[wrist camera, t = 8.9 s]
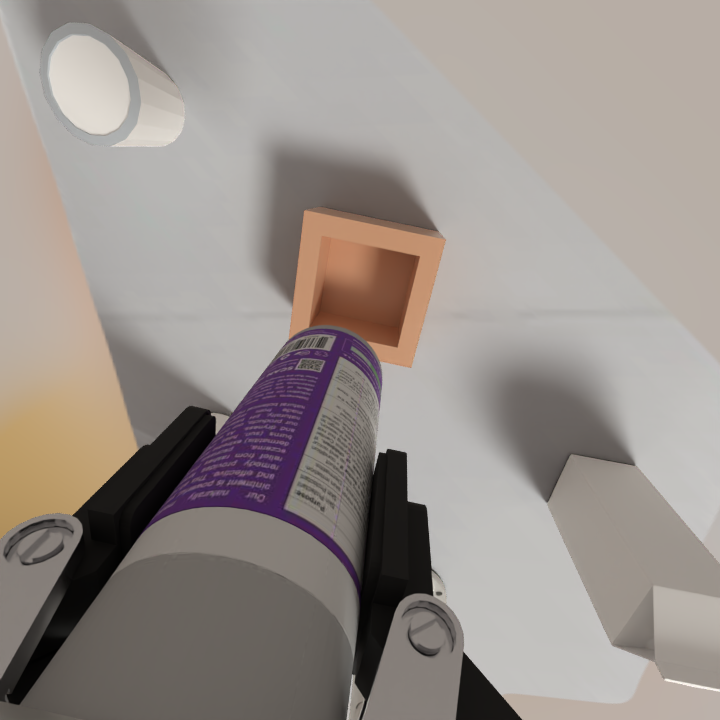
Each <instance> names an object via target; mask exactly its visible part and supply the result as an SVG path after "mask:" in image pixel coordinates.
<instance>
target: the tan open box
mask: <svg viewBox="0 0 720 720" xmlns="http://www.w3.org/2000/svg"><path fill="white" fill-rule="evenodd" d="M445 241H446V239H445V238H444V237H443V236H442V235H441V233H440V232H439V231H434V230H429V229H425V228H420V227H415V226H410V225H406V224H401V223H396V222H391V221H386V220H382V219H377V218H372V217H367V216H362V215H358V214H353V213H348V212H343V211H339V210H334V209H329V208H324V207H316V208H312V209H307V210H304V217H303V225H302V234H301V242H300V250H299V259H298V267H297V275H296V283H295V292H294V300H293V308H292V317H291V325H290V333H289V339H290V338H291V337H292V336H294V335H295V334H297V333H298V332H300V331H302V330H304V329H306V328H309V327H313V326H319V325H333V326H338V327H342V328H345V329H348V330H350V331H352V332H354V333H356V334H358V335H359V336H360V337H362V338H363V339H364V340H365V341H366V342H367V343H368V344H369V345H370V346H371V347H372V349H373V350H374V351H375V353H376V355H377V357H378V359H379V361H381V362H386V363H390V364H395V365H400V366H404V367H409V368H411V367H412V363H413V359H414V356H415V352H416V348H417V344H418V341H419V337H420V333H421V330H422V326H423V322H424V319H425V315H426V311H427V308H428V304H429V300H430V297H431V293H432V289H433V285H434V282H435V278H436V274H437V271H438V267H439V263H440V260H441V256H442V252H443V249H444V245H445Z"/></svg>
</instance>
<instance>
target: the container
mask: <svg viewBox="0 0 720 720" xmlns="http://www.w3.org/2000/svg"><path fill="white" fill-rule="evenodd" d="M381 390H382V369H381V365H380V362H379V359H378V357H377V355H376V353H375V351H374V350H373V349H372V347H371V346H370V345H369V344H368V343H367V342H366V341H365V340H364V339H363V338H362V337H360V336H359V335H358V334H356V333H354V332H352V331H350V330H348V329H345V328H342V327H338V326H333V325H319V326H313V327H309V328H306V329H304V330H302V331H300V332H298V333H297V334H295V335H294V336H292V337H291V338H290V339H289V340H288V341H287V342H286V344H285V345H284V346H283V347H282V348H281V350H280V351H279V352H278V354H277V355H276V356H275V358H274V359H273V360H272V362H271V363H270V364H269V366H268V367H267V368H266V370H265V371H264V372H263V373H262V375H261V376H260V377H259V379H258V380H257V381H256V383H255V384H254V385H253V387H252V388H251V389H250V391H249V392H248V393H247V395H246V396H245V397H244V399H243V400H242V401H241V403H240V404H239V405H238V406H237V408H236V409H235V410H234V412H233V413H232V414H231V416H230V417H229V418H228V420H227V421H226V422H225V424H224V425H223V426H222V428H221V429H220V430H219V432H218V433H217V434H216V436H215V437H214V438H213V439H212V441H211V442H210V443H209V445H208V446H207V447H206V449H205V450H204V451H203V453H202V454H201V455H200V457H199V458H198V459H197V461H196V462H195V463H194V465H193V466H192V467H191V469H190V470H189V471H188V472H187V474H186V475H185V476H184V478H183V479H182V480H181V482H180V483H179V484H178V486H177V487H176V488H175V490H174V491H173V492H172V494H171V495H170V496H169V498H168V499H167V500H166V501H165V503H164V504H163V505H162V507H161V508H160V509H159V511H158V512H157V513H156V515H155V516H154V517H153V519H152V520H151V521H150V523H149V524H148V525H147V527H146V528H145V529H144V531H143V532H142V533H141V535H140V536H139V537H138V539H137V540H136V542H135V544H134V545H133V546H132V548H131V549H130V551H129V552H128V553H127V555H126V556H125V558H124V559H123V560H122V562H121V563H120V565H119V566H118V568H117V569H116V570H115V572H114V573H113V575H112V576H111V577H110V579H109V580H108V582H107V583H106V585H105V586H104V587H103V589H102V590H101V592H100V593H99V594H98V596H97V597H96V599H95V600H94V601H93V603H92V604H91V606H90V607H89V608H88V610H87V611H86V613H85V614H84V615H83V617H82V618H81V620H80V621H79V622H78V624H77V625H76V627H75V628H74V629H73V631H72V632H71V634H70V635H69V636H68V638H67V639H66V640H65V642H64V643H63V645H62V646H61V647H60V649H59V650H58V652H57V653H56V654H55V656H54V657H53V659H52V660H51V661H50V663H49V664H48V666H47V667H46V668H45V670H44V671H43V673H42V674H41V675H40V677H39V678H38V680H37V681H36V682H35V684H34V685H33V687H32V688H31V689H30V691H29V692H28V694H27V695H26V696H25V698H24V699H23V701H22V702H21V703H20V706H24V707H29V708H33V709H37V710H42V711H46V712H51V713H55V714H60V715H64V716H69V717H73V718H77V719H82V720H346V718H347V710H348V702H349V694H350V686H351V678H352V670H353V662H354V654H355V646H356V639H357V631H358V623H359V617H360V608H361V604H360V602H361V592H362V582H363V572H364V562H365V552H366V542H367V532H368V522H369V512H370V502H371V492H372V482H373V473H374V462H375V452H376V442H377V431H378V421H379V410H380V400H381Z"/></svg>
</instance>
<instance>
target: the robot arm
mask: <svg viewBox="0 0 720 720" xmlns="http://www.w3.org/2000/svg"><path fill="white" fill-rule="evenodd" d="M215 436H216V417H215V416H211V412H210V410H207V409H203V408H198V407H193V406H189V407H187V408H186V409H185V410H184V411H183V412H182V413H181V414H180V415H179V416H178V417H177V418H176V419H175V420H174V421H173V422H172V423H171V424H170V425H169V426H168V427H167V428H166V429H165V430H164V431H163V432H162V433H161V434H160V436H159V437H158V438H157V439H156V440H155V441H154V442H153V443H152V444H151V445H145V446H143V447H142V448H140V449H139V450H138V451H137V452H136V453H135V454H134V455H133V456H132V457H131V458H130V459H129V460H128V461H127V462H126V463H125V464H124V465H123V466H122V467H121V468H120V469H119V470H118V471H117V472H116V473H115V474H114V475H113V476H112V477H111V478H110V479H109V480H108V481H107V482H106V483H105V484H104V485H103V486H102V487H101V488H100V489H99V490H98V491H97V492H96V493H95V494H94V495H93V496H92V497H91V498H90V499H89V500H88V501H87V502H86V503H85V504H84V505H83V506H82V507H81V508H80V509H79V510H78V511H77V512H76V513H75V514H73V515H72V516H71V515H68V514H60V513H56V514H46V515H42V516H39V517H35V518H32V519H30V520H27V521H25V522H23V523H21V524H19V525H18V526H16V527H15V528H13V529H11V530H10V531H9V532H7V533H6V535H4V536H3V538H1V540H0V720H82V719H77V718H73V717H69V716H64V715H60V714H55V713H51V712H46V711H42V710H37V709H33V708H29V707H24V706H20V703H21V702H22V701H23V699H24V698H25V696H26V695H27V694H28V692H29V691H30V689H31V688H32V687H33V685H34V684H35V682H36V681H37V680H38V678H39V677H40V675H41V674H42V673H43V671H44V670H45V668H46V667H47V666H48V664H49V663H50V661H51V660H52V659H53V657H54V656H55V654H56V653H57V652H58V650H59V649H60V647H61V646H62V645H63V643H64V642H65V640H66V639H67V638H68V636H69V635H70V634H71V632H72V631H73V629H74V628H75V627H76V625H77V624H78V622H79V621H80V620H81V618H82V617H83V615H84V614H85V613H86V611H87V610H88V608H89V607H90V606H91V604H92V603H93V601H94V600H95V599H96V597H97V596H98V594H99V593H100V592H101V590H102V589H103V587H104V586H105V585H106V583H107V582H108V580H109V579H110V577H111V576H112V575H113V573H114V572H115V570H116V569H117V568H118V566H119V565H120V563H121V562H122V560H123V559H124V558H125V556H126V555H127V553H128V552H129V551H130V549H131V548H132V546H133V545H134V544H135V542H136V540H137V539H138V537H139V536H140V535H141V533H142V532H143V531H144V529H145V528H146V527H147V525H148V524H149V523H150V521H151V520H152V519H153V517H154V516H155V515H156V513H157V512H158V511H159V509H160V508H161V507H162V505H163V504H164V503H165V501H166V500H167V499H168V498H169V496H170V495H171V494H172V492H173V491H174V490H175V488H176V487H177V486H178V484H179V483H180V482H181V480H182V479H183V478H184V476H185V475H186V474H187V472H188V471H189V470H190V469H191V467H192V466H193V465H194V463H195V462H196V461H197V459H198V458H199V457H200V455H201V454H202V453H203V451H204V450H205V449H206V447H207V446H208V445H209V443H210V442H211V441H212V439H213V438H214V437H215ZM360 604H361V608H360V617H359V623H358V631H357V639H356V646H355V654H354V662H353V670H352V674H353V684H352V694H351V704H350V714H349V720H522V719H521V718H520V717H519V716H518V714H517V713H516V712H515V711H514V710H513V709H512V707H511V706H510V705H509V704H508V703H507V702H506V700H504V698H503V697H502V696H501V695H500V694H499V692H498V691H497V690H496V689H495V688H494V687H493V685H492V684H491V683H490V682H489V681H488V680H487V678H486V677H485V676H484V675H483V674H482V673H481V671H480V670H479V669H478V668H477V667H476V666H475V665H474V663H473V662H472V661H471V660H470V659H469V658H468V656H467V655H466V654H465V653H464V652H463V649H464V636H463V631H462V628H461V625H460V622H459V620H458V619H457V617H456V615H455V614H454V612H453V611H452V610H451V609H450V608H449V607H448V606H447V605H446V591H445V587H444V584H443V582H442V581H441V579H440V578H439V577H438V575H436V574H435V573H434V572H433V571H432V569H431V556H430V543H429V530H428V517H427V508H426V506H425V505H422V504H417V503H413V502H408V501H407V453H405V452H401V451H396V450H391V449H387V452H386V453H381V452H380V453H379V455H378V459H377V463H376V467H375V471H374V475H373V482H372V492H371V502H370V512H369V522H368V532H367V542H366V552H365V562H364V572H363V582H362V592H361V602H360Z"/></svg>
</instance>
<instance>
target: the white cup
mask: <svg viewBox="0 0 720 720" xmlns="http://www.w3.org/2000/svg"><path fill="white" fill-rule="evenodd" d="M39 73H40V78H41V82H42V86H43V91H44V95H45V98H46V100H47V102H48V104H49V106H50V107H51V109H52V111H53V113H54V115H55V117H56V118H57V120H58V121H59V122H60V123H61V124H62V125H63V126H64V127H65V128H66V129H67V130H68V131H69V132H70V133H71V134H72V135H73V136H75V137H77V138H79V139H80V140H82V141H84V142H86V143H88V144H90V145H94V146H109V147H138V146H165V145H167V144H170V143H172V142H174V141H175V140H176V138H177V137H178V136H179V134H180V133H181V132H182V129H183V125H184V121H185V110H184V101H183V99H182V97H181V94H180V92H179V90H178V87H177V86H176V84H175V83H174V82H173V81H172V80H171V79H170V78H169V76H168V75H167V74H166V73H164V72H163V71H161V70H160V69H158V68H157V67H156V66H154V65H153V64H151V63H150V62H148V61H147V60H146V59H144V58H143V57H141V56H140V55H138V54H137V53H135V52H134V51H133V50H131V49H130V48H128V47H127V46H125V45H124V44H123V43H121V42H120V41H118V40H117V39H115V38H114V37H112V36H111V35H110V34H108V33H106V32H104V31H102V30H100V29H99V28H97V27H95V26H93V25H91V24H89V23H73V22H68V23H66V24H65V25H63V26H61V27H59V28H58V29H56V30H54V31H52V32H51V34H50V36H49V38H48V39H47V41H46V43H45V45H44V47H43V48H42V52H41V62H40V72H39Z"/></svg>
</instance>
